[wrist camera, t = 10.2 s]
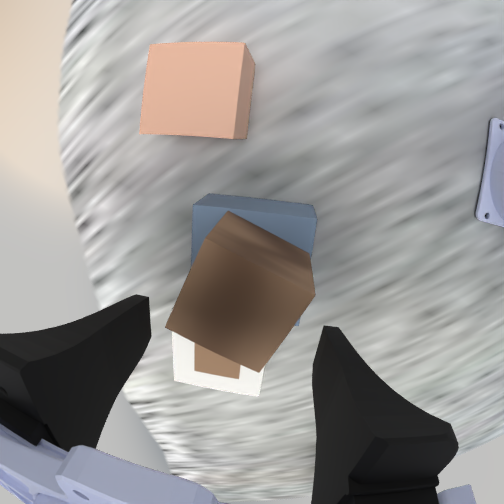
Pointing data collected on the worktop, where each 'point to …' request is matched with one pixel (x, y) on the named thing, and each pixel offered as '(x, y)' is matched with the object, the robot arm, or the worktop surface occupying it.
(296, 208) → the blue block
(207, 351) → the card
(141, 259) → the worktop surface
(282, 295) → the walnut block
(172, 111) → the peach block
